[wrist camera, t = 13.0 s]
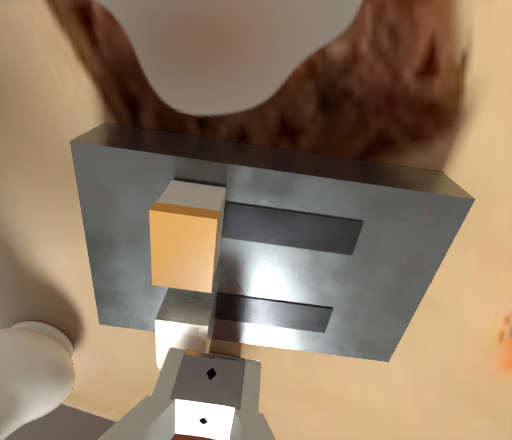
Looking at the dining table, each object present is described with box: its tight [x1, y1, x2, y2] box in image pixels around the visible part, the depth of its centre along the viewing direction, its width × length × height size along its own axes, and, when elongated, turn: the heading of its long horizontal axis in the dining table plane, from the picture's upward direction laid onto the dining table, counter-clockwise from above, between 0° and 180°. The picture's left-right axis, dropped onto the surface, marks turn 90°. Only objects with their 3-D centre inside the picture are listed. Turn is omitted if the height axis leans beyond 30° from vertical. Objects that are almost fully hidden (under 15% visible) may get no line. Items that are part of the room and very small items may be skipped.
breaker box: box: [70, 123, 475, 369], centre depth 21 cm, size 22×14×8 cm, turn 83°
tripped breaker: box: [149, 180, 226, 293], centre depth 17 cm, size 3×4×4 cm
